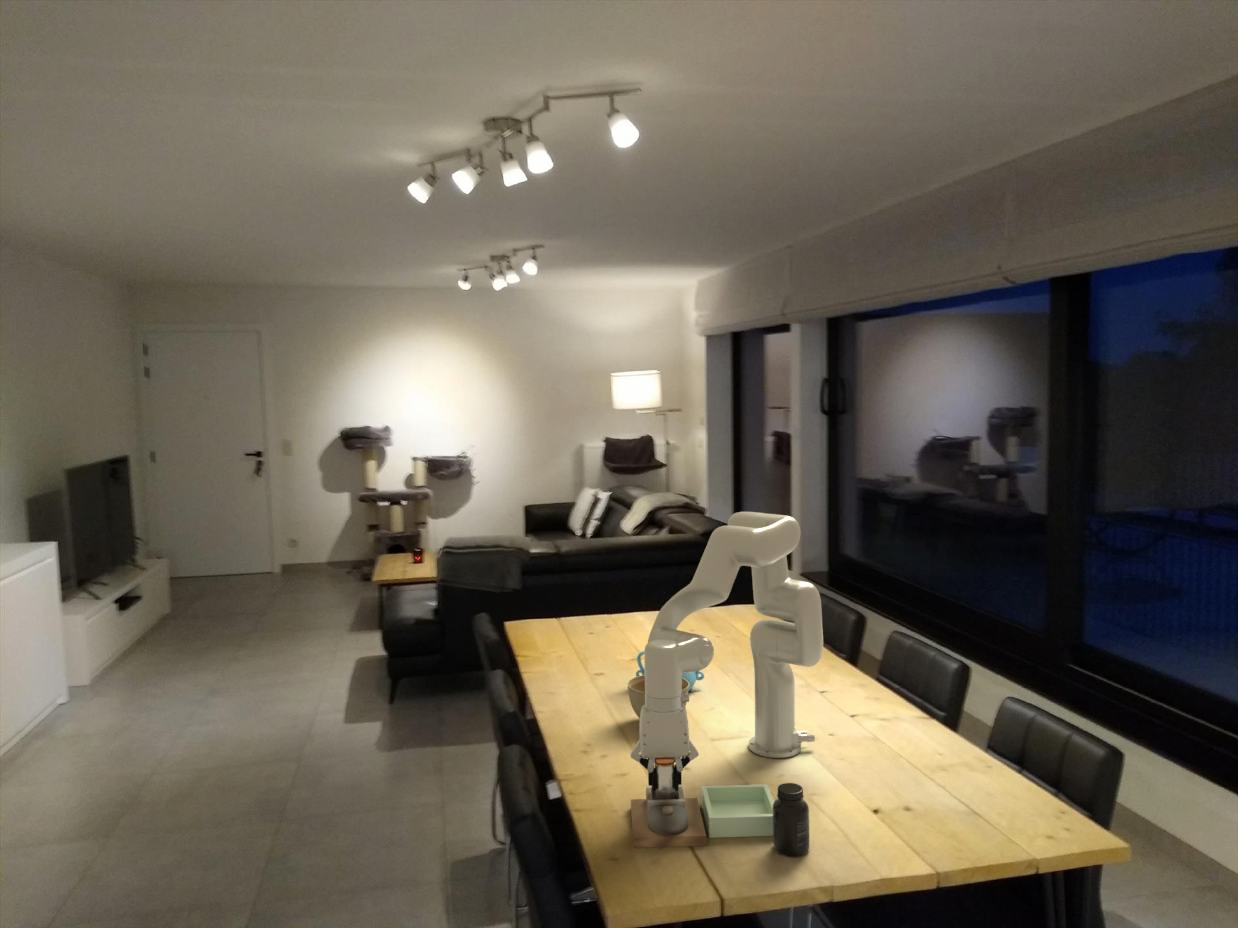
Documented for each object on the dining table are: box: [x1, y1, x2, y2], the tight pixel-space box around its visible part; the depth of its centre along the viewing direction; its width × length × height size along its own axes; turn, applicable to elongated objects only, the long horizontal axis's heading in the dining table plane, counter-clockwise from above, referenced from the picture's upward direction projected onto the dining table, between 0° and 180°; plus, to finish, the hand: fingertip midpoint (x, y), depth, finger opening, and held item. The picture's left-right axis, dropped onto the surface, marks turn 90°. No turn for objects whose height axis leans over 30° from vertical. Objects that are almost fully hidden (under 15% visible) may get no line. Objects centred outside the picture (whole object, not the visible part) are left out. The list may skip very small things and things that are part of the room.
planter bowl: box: [627, 674, 690, 720], centre depth 235 cm, size 16×16×11 cm
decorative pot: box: [635, 650, 705, 691], centre depth 262 cm, size 16×16×14 cm
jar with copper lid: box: [654, 758, 676, 800], centre depth 184 cm, size 5×5×11 cm
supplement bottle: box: [772, 782, 810, 858], centre depth 171 cm, size 7×7×12 cm
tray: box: [700, 783, 775, 839], centre depth 183 cm, size 14×14×4 cm
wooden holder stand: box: [630, 784, 707, 849], centre depth 180 cm, size 14×16×6 cm
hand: (664, 787), depth 184 cm, fingers closed on jar with copper lid, 4 cm apart
